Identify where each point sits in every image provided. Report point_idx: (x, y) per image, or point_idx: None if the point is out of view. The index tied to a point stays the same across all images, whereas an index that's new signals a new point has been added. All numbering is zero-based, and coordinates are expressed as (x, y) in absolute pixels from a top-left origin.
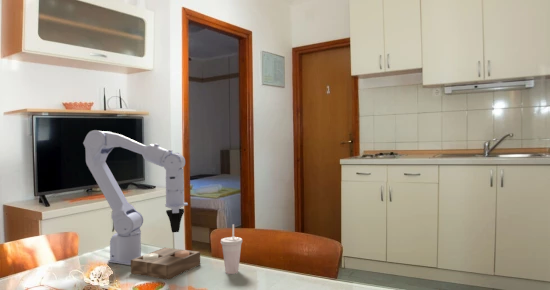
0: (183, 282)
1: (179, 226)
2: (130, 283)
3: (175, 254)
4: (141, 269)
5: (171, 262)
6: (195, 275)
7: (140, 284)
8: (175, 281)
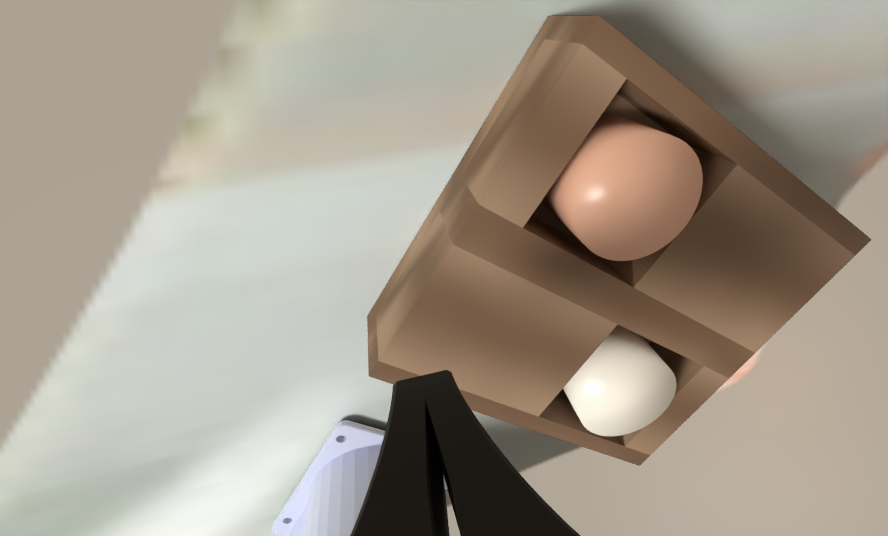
0: (879, 106)
1: (474, 417)
2: (744, 364)
3: (656, 247)
4: None
5: (813, 235)
6: (794, 35)
7: None
8: (834, 159)
